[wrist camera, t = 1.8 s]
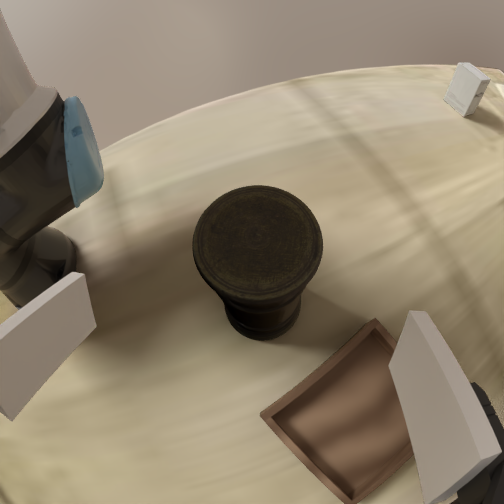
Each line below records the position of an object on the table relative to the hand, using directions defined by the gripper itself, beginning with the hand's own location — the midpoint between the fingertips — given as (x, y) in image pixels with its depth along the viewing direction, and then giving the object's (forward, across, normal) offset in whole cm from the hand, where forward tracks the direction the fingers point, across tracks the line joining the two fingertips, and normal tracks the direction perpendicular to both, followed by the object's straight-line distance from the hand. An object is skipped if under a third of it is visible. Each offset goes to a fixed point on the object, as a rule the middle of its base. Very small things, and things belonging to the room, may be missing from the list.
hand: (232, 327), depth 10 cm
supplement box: (+59, +45, +25) cm, 78 cm away
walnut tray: (+12, +13, -21) cm, 27 cm away
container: (+22, 0, -12) cm, 25 cm away
